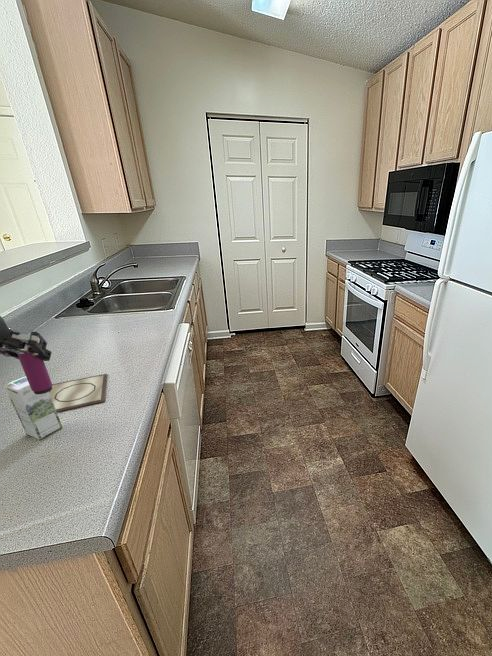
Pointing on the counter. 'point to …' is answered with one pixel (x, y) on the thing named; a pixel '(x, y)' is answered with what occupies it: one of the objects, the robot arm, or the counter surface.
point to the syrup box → (33, 409)
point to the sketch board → (79, 393)
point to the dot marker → (35, 373)
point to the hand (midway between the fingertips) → (38, 356)
